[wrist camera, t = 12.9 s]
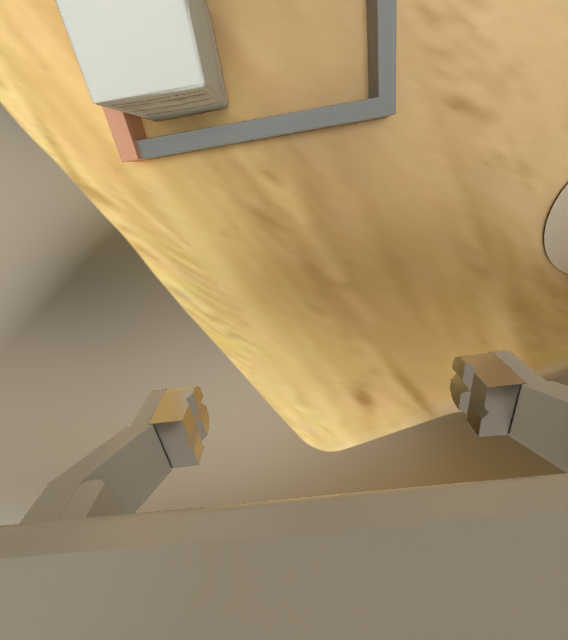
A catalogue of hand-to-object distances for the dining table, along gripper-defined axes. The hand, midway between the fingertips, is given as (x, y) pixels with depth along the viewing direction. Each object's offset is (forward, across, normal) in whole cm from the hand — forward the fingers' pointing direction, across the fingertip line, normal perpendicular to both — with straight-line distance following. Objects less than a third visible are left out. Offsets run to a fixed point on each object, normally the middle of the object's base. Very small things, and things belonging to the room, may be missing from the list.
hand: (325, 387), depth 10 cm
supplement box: (+28, -9, +15) cm, 33 cm away
